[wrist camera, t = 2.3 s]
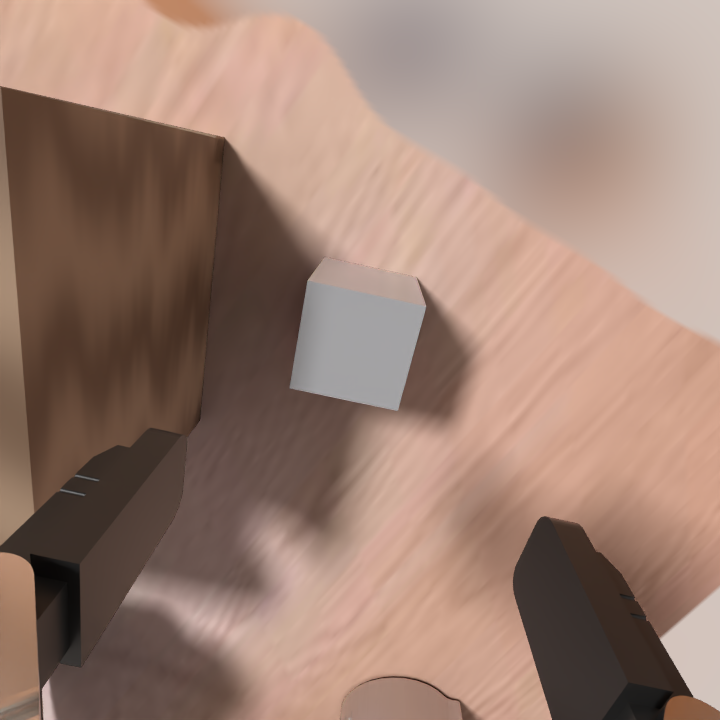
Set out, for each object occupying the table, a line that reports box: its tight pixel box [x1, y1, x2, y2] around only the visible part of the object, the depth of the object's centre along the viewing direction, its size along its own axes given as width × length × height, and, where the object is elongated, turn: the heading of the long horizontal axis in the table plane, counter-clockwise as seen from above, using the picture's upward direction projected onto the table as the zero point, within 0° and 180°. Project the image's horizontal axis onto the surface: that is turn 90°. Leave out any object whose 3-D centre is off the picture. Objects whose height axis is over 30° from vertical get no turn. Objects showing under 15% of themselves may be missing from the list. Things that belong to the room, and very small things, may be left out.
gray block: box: [290, 257, 426, 411], centre depth 22 cm, size 5×5×6 cm
